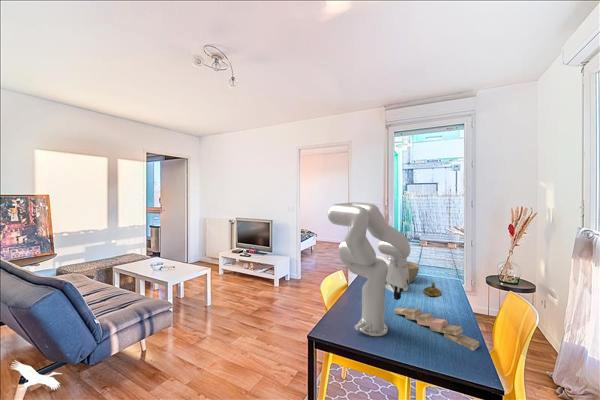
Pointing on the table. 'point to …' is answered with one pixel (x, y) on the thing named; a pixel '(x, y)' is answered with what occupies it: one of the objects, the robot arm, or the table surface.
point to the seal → (432, 291)
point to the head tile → (407, 311)
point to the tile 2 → (434, 323)
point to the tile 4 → (463, 340)
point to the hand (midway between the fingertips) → (397, 298)
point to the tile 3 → (448, 329)
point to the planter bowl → (412, 270)
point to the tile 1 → (421, 317)
